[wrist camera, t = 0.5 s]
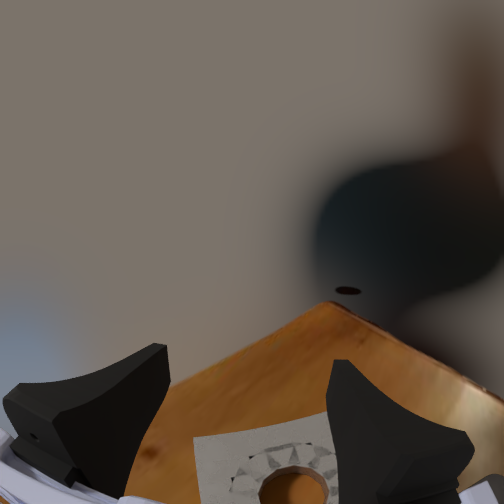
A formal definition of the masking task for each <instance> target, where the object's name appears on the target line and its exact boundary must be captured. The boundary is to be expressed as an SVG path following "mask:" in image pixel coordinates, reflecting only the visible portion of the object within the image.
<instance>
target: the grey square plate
mask: <svg viewBox="0 0 504 504" xmlns="http://www.w3.org/2000/svg"><path fill="white" fill-rule="evenodd" d="M193 441H194V451H195V460H196V468H197V476H198V484H199V491H200V498H201V504H260V500H259V498H260V495H261V493H262V490H263V488H264V486H265V485H266V484H267V483H269V482H270V481H271V480H272V479H274V478H275V477H276V476H280V475H284V474H288V473H292V472H293V473H299V474H304V475H309V476H310V477H312V478H313V479H314V480H316V481H317V482H318V483H320V484H321V487H322V489H323V492H324V495H325V500H324V503H323V504H338V500H339V495H338V471H337V459H336V453H335V448H334V443H333V439H332V434H331V430H330V425H329V420H328V416H327V412H323V413H320V414H316V415H313V416H309V417H305V418H302V419H298V420H294V421H289V422H285V423H281V424H276V425H272V426H267V427H262V428H257V429H252V430H246V431H240V432H234V433H227V434H220V435H212V436H204V437H194V438H193Z"/></svg>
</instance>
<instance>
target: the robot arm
mask: <svg viewBox="0 0 504 504" xmlns="http://www.w3.org/2000/svg"><path fill="white" fill-rule="evenodd" d="M170 382H171V380H170V371H169V362H168V352H167V345H163V344H157V343H153V344H151V345H149V346H147V347H145V348H143V349H141V350H140V351H138V352H136V353H134V354H132V355H130V356H128V357H127V358H125V359H123V360H121V361H119V362H117V363H114V364H112V365H110V366H108V367H106V368H104V369H101V370H98V371H96V372H93V373H90V374H87V375H84V376H80V377H76V378H72V379H67V380H62V381H56V382H46V383H19V384H18V385H17V386H16V387H15V388H14V389H12V390H11V391H10V392H9V393H8V394H7V395H6V396H5V397H4V398H3V406H4V410H5V412H6V414H7V416H8V418H9V420H10V422H11V423H12V425H13V427H14V429H15V430H16V432H17V434H18V435H19V436H18V437H17V438H16V439H14V438H13V437H12V436H11V435H10V434H9V433H7V432H6V431H4V430H3V429H2V428H0V495H1V496H2V497H3V498H4V499H5V500H7V501H8V502H9V503H10V504H164V503H161V502H157V501H154V500H150V499H146V498H142V497H137V496H127V497H123V496H124V492H125V488H126V484H127V481H128V478H129V474H130V471H131V468H132V465H133V462H134V459H135V457H136V454H137V451H138V449H139V446H140V444H141V441H142V439H143V437H144V435H145V433H146V431H147V429H148V427H149V426H150V424H151V422H152V420H153V419H154V417H155V415H156V413H157V411H158V410H159V408H160V406H161V404H162V402H163V400H164V398H165V396H166V393H167V391H168V388H169V385H170ZM326 405H327V416H328V420H329V425H330V430H331V434H332V439H333V443H334V448H335V453H336V459H337V471H338V495H339V500H338V504H498V501H497V499H496V497H495V495H494V493H493V491H492V489H491V487H490V485H489V483H488V481H484V482H482V483H480V484H477V485H475V486H473V487H470V488H468V489H466V490H464V491H462V492H461V493H459V494H458V493H457V491H456V488H458V486H459V482H458V480H457V477H458V476H459V475H460V474H461V472H462V471H463V470H464V469H465V467H466V466H467V465H468V464H469V462H470V461H471V459H472V457H473V455H474V452H475V449H474V446H473V444H472V442H471V441H470V439H469V437H468V436H467V434H466V432H465V431H461V430H457V429H453V428H449V427H445V426H442V425H439V424H437V423H434V422H431V421H429V420H426V419H424V418H422V417H420V416H418V415H416V414H414V413H412V412H410V411H408V410H407V409H405V408H403V407H402V406H400V405H399V404H397V403H396V402H394V401H393V400H391V399H390V398H389V397H387V396H386V395H385V394H384V393H383V392H381V391H380V390H379V389H378V388H377V387H375V386H374V385H373V384H372V383H371V382H370V381H369V380H368V379H367V378H366V377H365V376H364V375H363V374H362V373H361V372H360V371H359V370H358V369H357V368H356V367H355V366H354V365H353V364H352V363H351V362H350V361H349V360H334V362H333V367H332V372H331V376H330V380H329V385H328V389H327V393H326Z"/></svg>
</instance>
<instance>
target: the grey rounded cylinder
mask: <svg viewBox="0 0 504 504" xmlns="http://www.w3.org/2000/svg"><path fill="white" fill-rule="evenodd" d="M484 481H488V483H489V485H490V487H491V489H492V491H493V493H494V495H495V497H496V499H497V501H498V504H504V477H503V476H501V475H499V474H491V475H488V476H486V477H484V478H483V479H481V480H480V481H478V482H477V483H475V484H474V485H472V486H470V487H473V486H475V485H477V484H480V483H482V482H484ZM470 487H469V488H470ZM467 489H468V488H467Z"/></svg>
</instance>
